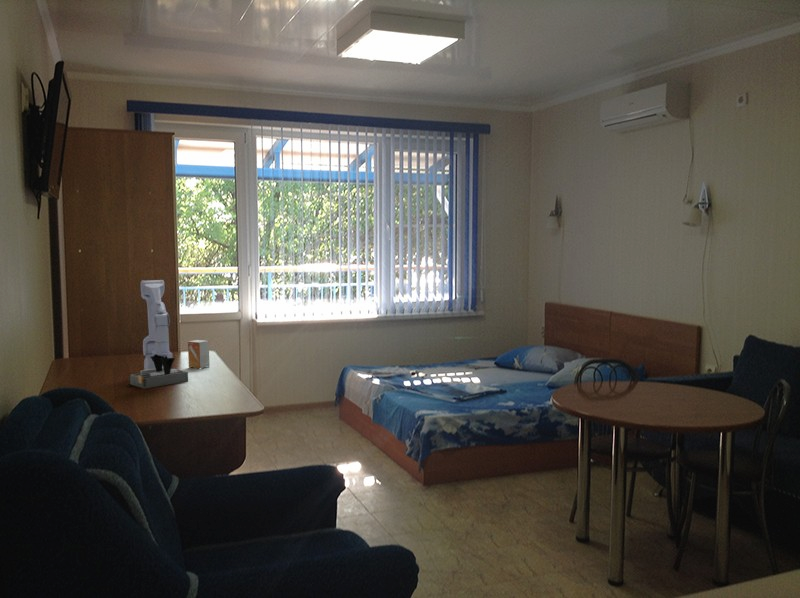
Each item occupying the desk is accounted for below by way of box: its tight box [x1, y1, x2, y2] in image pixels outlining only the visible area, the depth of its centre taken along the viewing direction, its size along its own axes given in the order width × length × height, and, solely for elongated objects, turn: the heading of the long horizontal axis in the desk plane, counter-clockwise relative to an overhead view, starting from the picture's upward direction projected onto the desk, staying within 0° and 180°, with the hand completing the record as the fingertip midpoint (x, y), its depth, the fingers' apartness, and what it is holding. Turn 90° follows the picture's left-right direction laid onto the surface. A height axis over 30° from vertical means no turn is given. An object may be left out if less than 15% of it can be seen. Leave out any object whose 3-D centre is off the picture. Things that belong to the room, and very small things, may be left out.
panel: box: [149, 368, 178, 377], centre depth 291 cm, size 12×2×5 cm, turn 134°
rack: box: [129, 367, 189, 389], centre depth 294 cm, size 14×20×6 cm, turn 135°
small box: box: [187, 339, 210, 369], centre depth 331 cm, size 8×6×13 cm
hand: (163, 372), depth 291 cm, fingers open, 7 cm apart
